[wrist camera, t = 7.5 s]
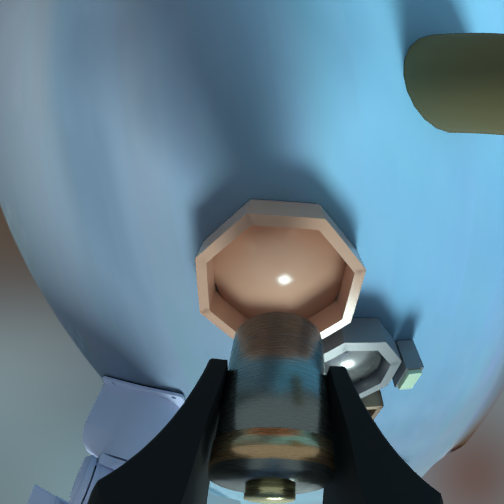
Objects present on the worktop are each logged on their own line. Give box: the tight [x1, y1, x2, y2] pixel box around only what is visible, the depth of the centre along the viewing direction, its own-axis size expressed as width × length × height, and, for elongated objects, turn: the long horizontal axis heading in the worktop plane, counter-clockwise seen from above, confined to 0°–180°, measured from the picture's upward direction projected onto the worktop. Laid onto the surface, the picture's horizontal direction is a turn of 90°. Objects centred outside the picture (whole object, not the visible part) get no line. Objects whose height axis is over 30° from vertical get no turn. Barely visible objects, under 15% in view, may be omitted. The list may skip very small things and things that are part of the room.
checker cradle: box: [322, 318, 424, 398], centre depth 19 cm, size 9×7×3 cm
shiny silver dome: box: [325, 351, 381, 382], centre depth 20 cm, size 5×5×1 cm
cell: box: [208, 312, 335, 503], centre depth 9 cm, size 4×4×7 cm
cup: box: [195, 199, 366, 339], centre depth 17 cm, size 9×9×2 cm
